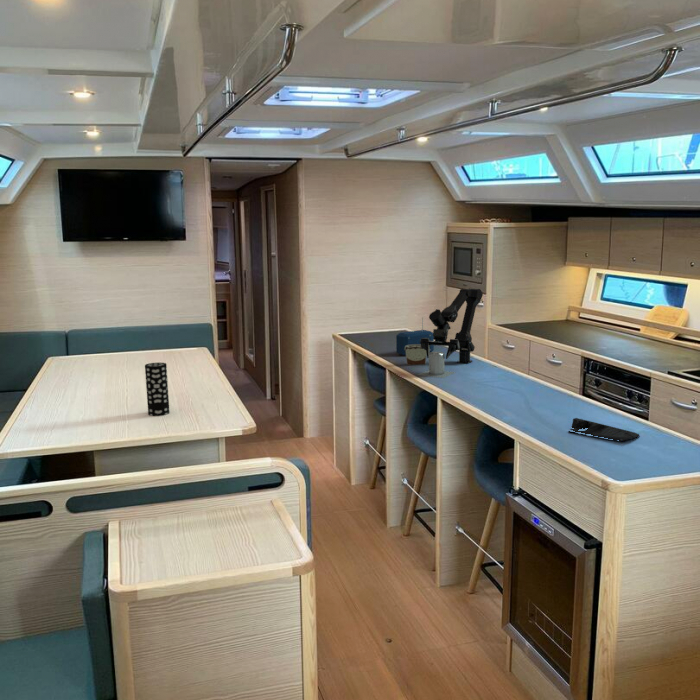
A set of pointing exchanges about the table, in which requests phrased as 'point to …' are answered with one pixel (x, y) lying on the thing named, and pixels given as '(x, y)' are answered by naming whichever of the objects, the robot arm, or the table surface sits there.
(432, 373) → the steel cup
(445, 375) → the grey mat
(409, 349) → the food container
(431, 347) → the radio
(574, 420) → the black knife blade
